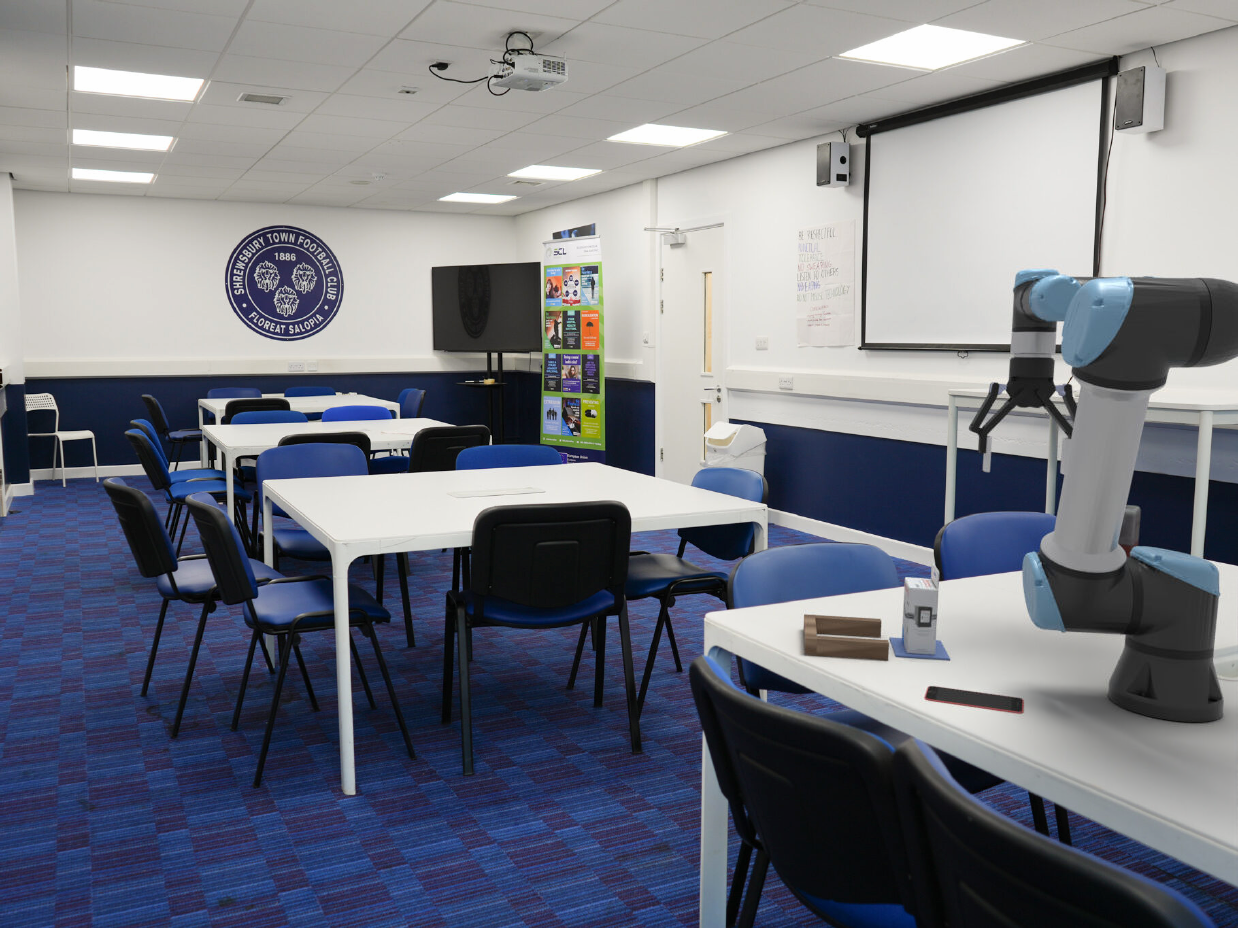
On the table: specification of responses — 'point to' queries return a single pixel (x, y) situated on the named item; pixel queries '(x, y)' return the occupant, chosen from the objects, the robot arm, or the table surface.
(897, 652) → the pad
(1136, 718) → the table surface
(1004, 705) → the smartphone
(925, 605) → the ink box
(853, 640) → the bay
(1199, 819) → the table surface
